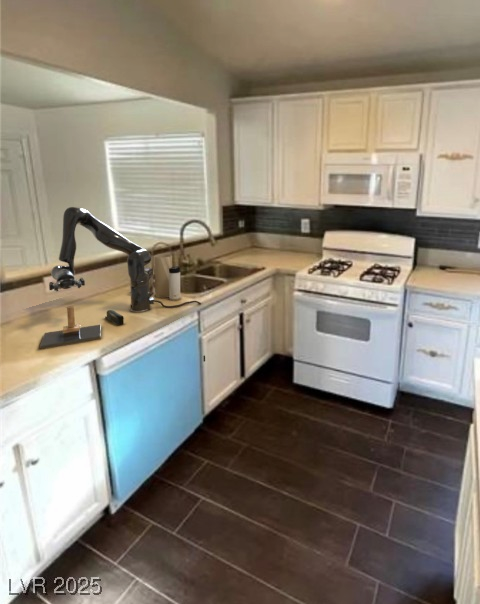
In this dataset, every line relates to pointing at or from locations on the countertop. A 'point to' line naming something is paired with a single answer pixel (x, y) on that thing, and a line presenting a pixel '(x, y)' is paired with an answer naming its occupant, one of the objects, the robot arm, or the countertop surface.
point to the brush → (71, 324)
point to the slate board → (70, 337)
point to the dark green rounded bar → (115, 317)
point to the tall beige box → (162, 274)
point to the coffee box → (150, 279)
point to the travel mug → (174, 283)
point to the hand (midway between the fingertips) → (68, 287)
